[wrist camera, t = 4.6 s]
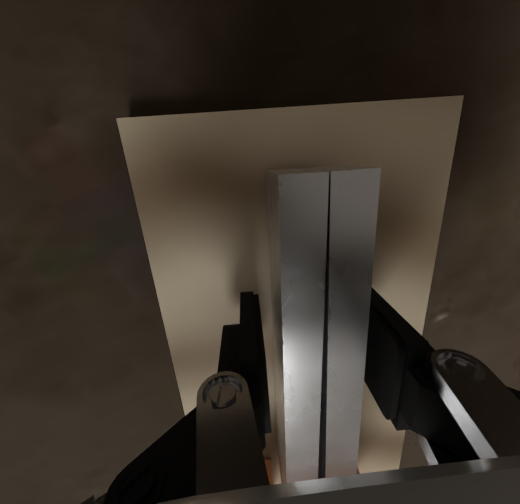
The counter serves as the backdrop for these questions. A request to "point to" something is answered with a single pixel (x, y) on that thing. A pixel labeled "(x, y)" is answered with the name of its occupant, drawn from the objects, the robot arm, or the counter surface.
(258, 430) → the robot arm
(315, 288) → the bar
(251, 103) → the counter surface
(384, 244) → the tongs board
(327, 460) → the jaw
